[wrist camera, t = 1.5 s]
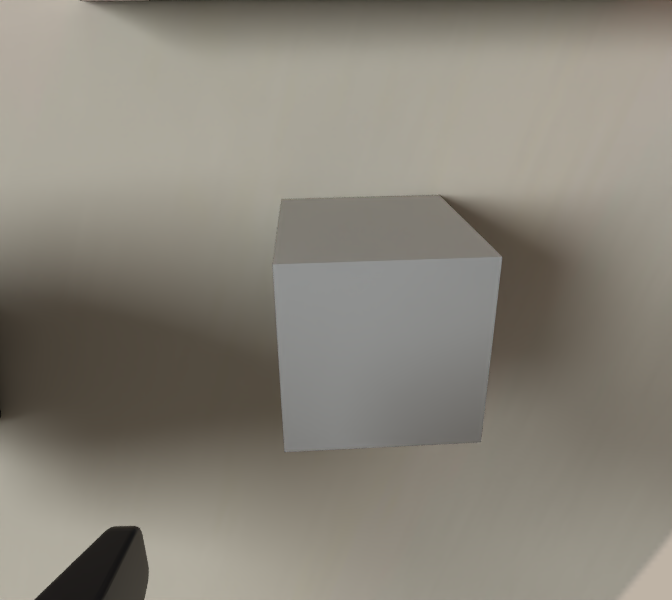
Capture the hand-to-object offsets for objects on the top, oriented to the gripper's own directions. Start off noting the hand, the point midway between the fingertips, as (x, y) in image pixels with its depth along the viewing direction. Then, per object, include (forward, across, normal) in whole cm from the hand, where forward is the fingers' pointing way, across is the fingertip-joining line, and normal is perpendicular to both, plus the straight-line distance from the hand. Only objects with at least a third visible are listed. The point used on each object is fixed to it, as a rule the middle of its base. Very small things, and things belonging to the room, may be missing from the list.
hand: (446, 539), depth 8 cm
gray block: (+11, 0, 0) cm, 11 cm away
